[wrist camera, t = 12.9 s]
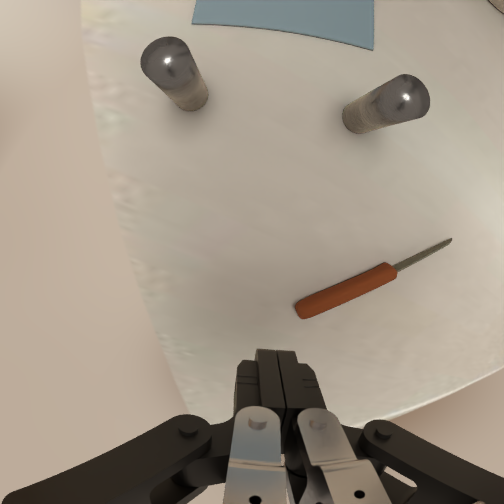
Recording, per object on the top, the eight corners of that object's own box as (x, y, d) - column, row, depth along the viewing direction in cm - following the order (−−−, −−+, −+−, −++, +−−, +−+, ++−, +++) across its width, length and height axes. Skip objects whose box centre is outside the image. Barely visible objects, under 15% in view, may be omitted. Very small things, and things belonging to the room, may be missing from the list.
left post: (210, 81, 22) (193, 36, 13) (206, 112, 23) (185, 81, 14) (177, 79, 22) (145, 37, 13) (173, 110, 23) (136, 81, 14)
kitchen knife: (297, 313, 27) (301, 324, 25) (292, 300, 27) (295, 310, 25) (448, 242, 26) (460, 247, 24) (445, 229, 26) (457, 233, 24)
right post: (373, 106, 23) (430, 82, 14) (370, 136, 23) (428, 124, 15) (343, 99, 23) (391, 68, 14) (340, 130, 23) (389, 112, 15)
